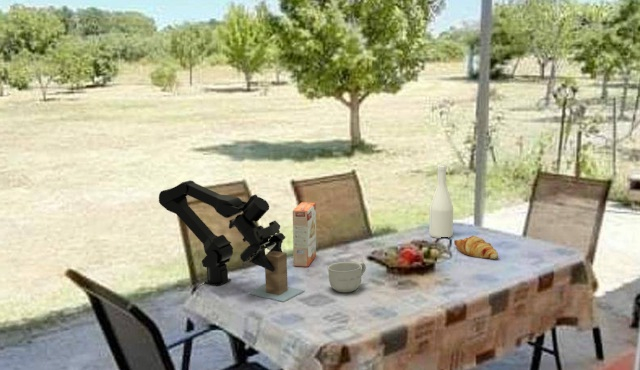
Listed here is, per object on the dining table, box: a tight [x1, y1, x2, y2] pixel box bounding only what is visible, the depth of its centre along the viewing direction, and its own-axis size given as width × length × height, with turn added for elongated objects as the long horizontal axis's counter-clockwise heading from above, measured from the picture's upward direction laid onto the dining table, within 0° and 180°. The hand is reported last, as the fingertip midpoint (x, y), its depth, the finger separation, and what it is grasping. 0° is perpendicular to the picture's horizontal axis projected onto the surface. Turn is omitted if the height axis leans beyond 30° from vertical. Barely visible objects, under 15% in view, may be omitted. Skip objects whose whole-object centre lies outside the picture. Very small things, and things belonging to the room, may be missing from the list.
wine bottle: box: [428, 163, 454, 239], centre depth 268 cm, size 10×10×30 cm
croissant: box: [453, 235, 499, 260], centre depth 245 cm, size 21×10×8 cm, turn 36°
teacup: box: [327, 261, 367, 293], centre depth 211 cm, size 14×11×8 cm
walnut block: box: [264, 251, 289, 295], centre depth 208 cm, size 5×5×12 cm
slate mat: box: [248, 284, 306, 303], centre depth 209 cm, size 14×11×1 cm
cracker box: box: [292, 201, 317, 268], centre depth 239 cm, size 14×6×21 cm, turn 168°
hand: (279, 267), depth 207 cm, fingers open, 7 cm apart
